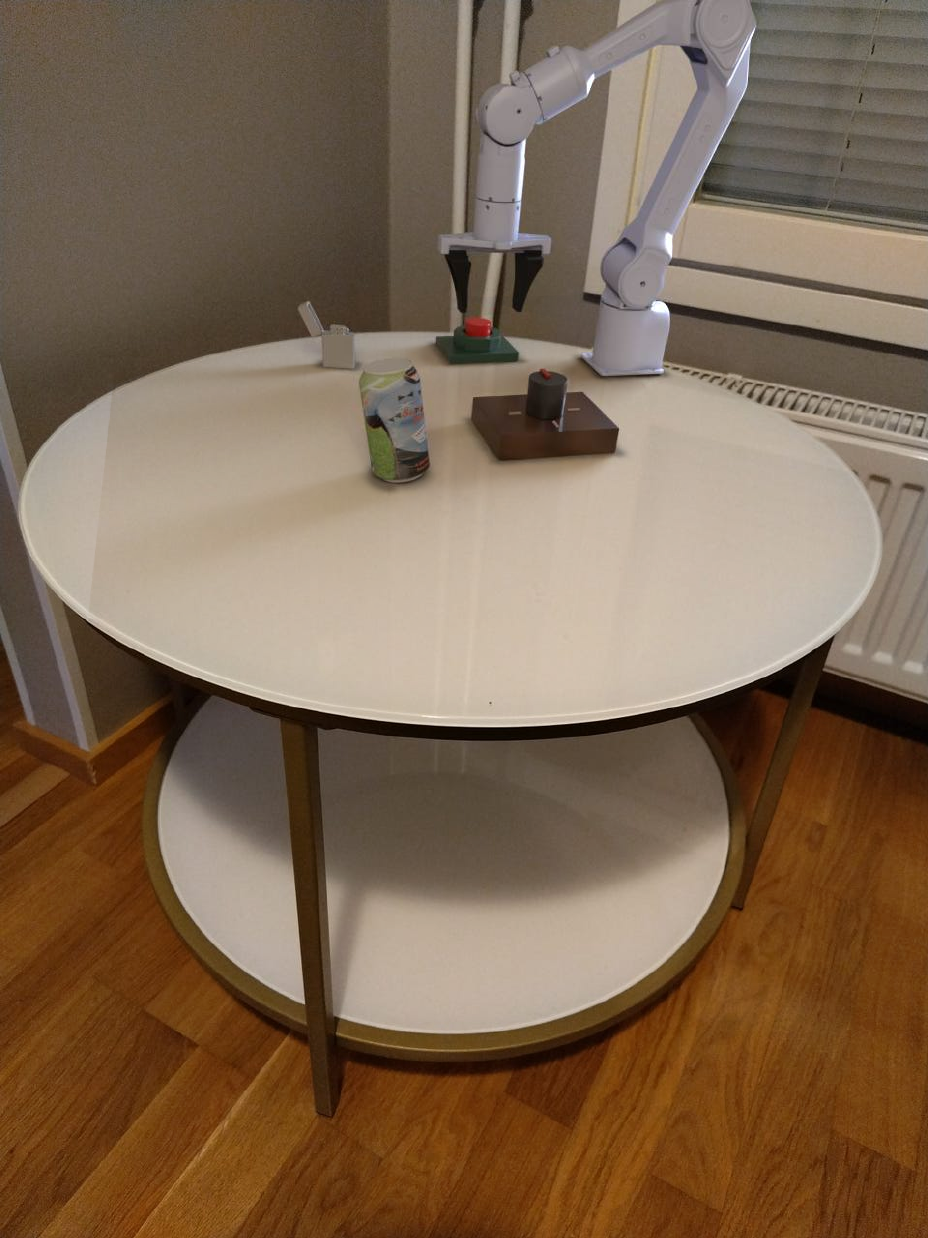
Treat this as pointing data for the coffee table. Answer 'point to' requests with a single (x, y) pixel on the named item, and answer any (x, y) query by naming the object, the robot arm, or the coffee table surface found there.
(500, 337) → the button box
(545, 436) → the dial panel
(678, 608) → the coffee table surface
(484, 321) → the button
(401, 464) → the beverage can
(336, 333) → the lighter
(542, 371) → the dial
